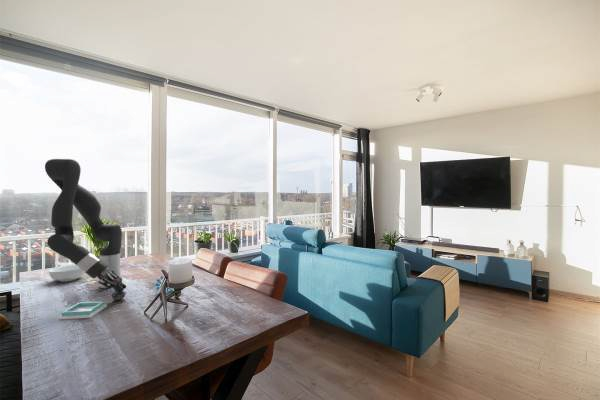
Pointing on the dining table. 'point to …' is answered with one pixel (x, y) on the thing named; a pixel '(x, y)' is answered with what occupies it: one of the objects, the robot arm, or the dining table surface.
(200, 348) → the dining table surface
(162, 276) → the gear
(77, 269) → the cereal bowl
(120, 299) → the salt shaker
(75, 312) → the socket board
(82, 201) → the robot arm
